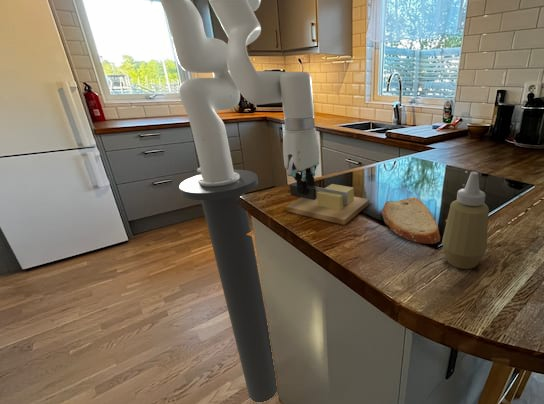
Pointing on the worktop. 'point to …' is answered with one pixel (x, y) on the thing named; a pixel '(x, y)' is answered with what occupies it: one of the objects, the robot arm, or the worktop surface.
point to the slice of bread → (411, 220)
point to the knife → (313, 192)
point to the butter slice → (330, 200)
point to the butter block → (344, 189)
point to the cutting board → (328, 210)
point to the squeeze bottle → (466, 226)
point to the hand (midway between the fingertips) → (306, 191)
